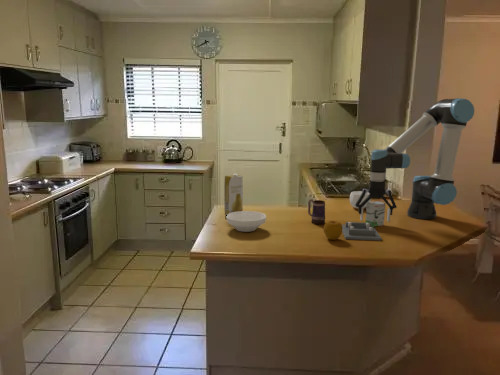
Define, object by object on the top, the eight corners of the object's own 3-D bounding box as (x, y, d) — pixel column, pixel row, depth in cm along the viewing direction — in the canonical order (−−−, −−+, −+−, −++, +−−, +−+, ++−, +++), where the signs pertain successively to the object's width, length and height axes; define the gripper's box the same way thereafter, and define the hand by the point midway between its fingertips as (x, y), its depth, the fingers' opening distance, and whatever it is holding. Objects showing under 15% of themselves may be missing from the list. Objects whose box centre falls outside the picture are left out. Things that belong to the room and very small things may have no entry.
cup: (374, 209, 241) (375, 193, 239) (360, 212, 234) (361, 196, 232) (358, 205, 251) (359, 190, 249) (344, 207, 244) (345, 192, 242)
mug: (327, 223, 211) (328, 200, 208) (319, 225, 206) (320, 202, 204) (312, 219, 218) (313, 197, 216) (304, 221, 213) (304, 199, 211)
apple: (329, 243, 178) (330, 224, 177) (319, 237, 186) (320, 219, 184) (345, 241, 182) (346, 222, 180) (334, 235, 190) (335, 217, 188)
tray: (372, 228, 202) (373, 220, 201) (381, 240, 183) (381, 231, 182) (340, 226, 204) (340, 218, 203) (345, 239, 184) (345, 230, 184)
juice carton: (231, 218, 218) (231, 175, 213) (222, 215, 223) (222, 173, 219) (244, 216, 224) (244, 173, 219) (235, 213, 229) (235, 171, 225)
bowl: (220, 226, 203) (220, 213, 202) (256, 222, 211) (256, 209, 209) (234, 237, 185) (234, 222, 184) (272, 233, 193) (273, 218, 192)
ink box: (371, 227, 204) (373, 204, 201) (364, 224, 208) (366, 202, 206) (384, 225, 208) (385, 202, 206) (376, 222, 212) (378, 200, 210)
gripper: (401, 179, 206) (397, 219, 210) (351, 178, 208) (349, 217, 212) (404, 182, 198) (401, 223, 202) (353, 180, 201) (351, 221, 205)
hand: (374, 220), depth 207 cm, fingers open, 13 cm apart
